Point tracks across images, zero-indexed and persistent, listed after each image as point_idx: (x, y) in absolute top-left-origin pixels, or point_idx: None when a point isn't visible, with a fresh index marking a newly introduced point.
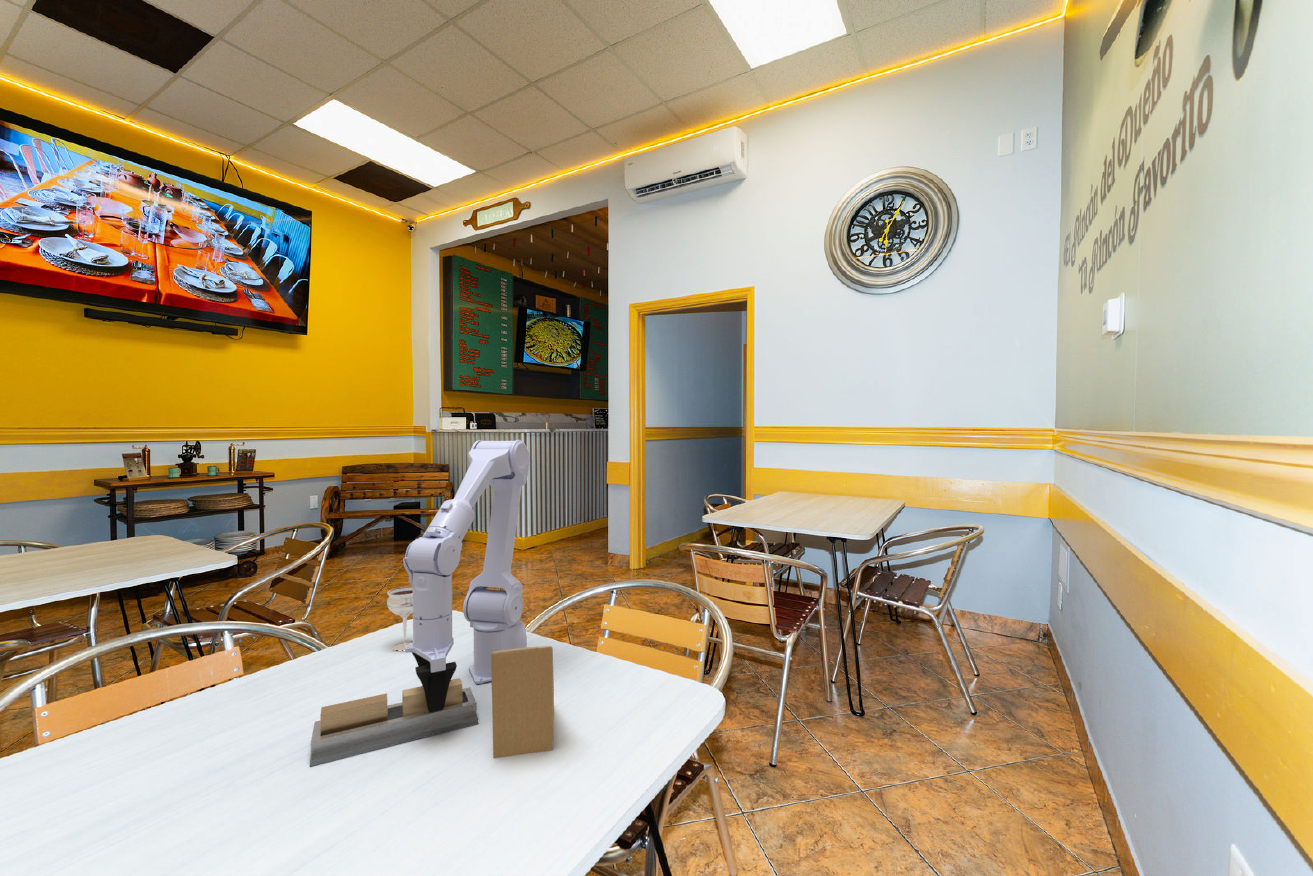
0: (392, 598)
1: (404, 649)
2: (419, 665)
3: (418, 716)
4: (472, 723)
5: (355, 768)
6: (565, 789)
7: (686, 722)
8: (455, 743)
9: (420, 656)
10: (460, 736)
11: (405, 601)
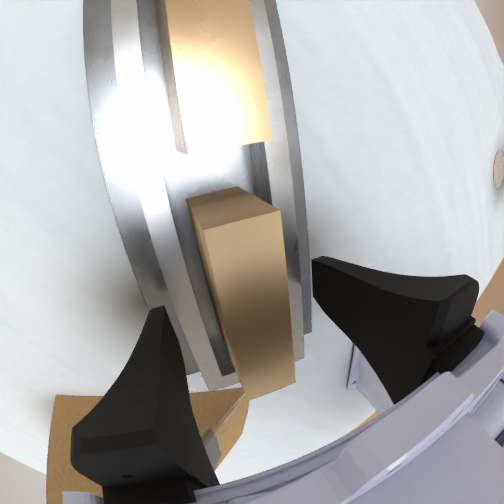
0: None
1: (496, 169)
2: (384, 295)
3: (160, 266)
4: None
5: (29, 113)
6: (19, 440)
7: None
8: (99, 338)
9: (414, 322)
10: (128, 344)
11: None
